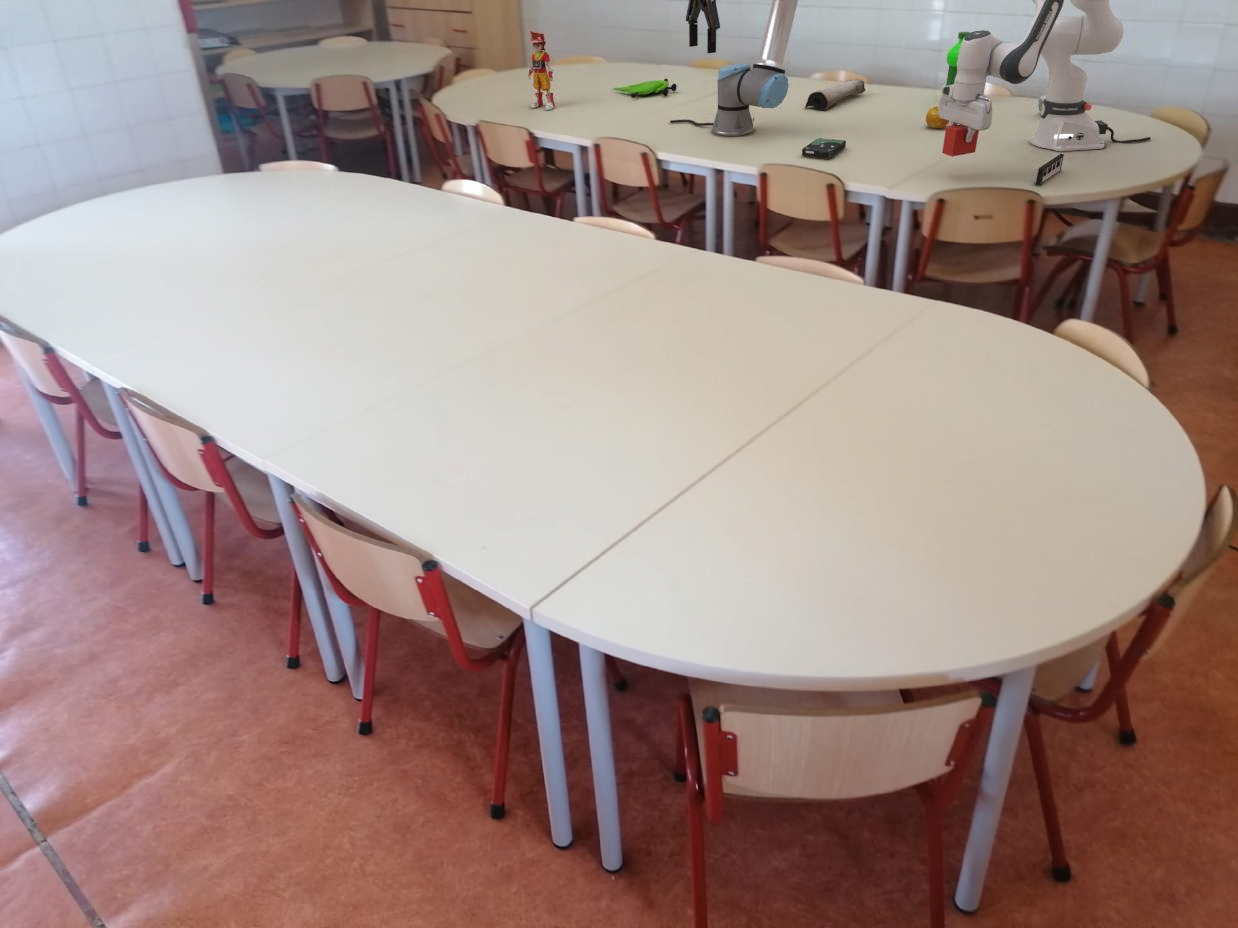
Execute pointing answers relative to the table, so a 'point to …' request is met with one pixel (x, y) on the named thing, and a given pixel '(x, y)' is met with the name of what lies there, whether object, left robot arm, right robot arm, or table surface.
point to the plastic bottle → (954, 59)
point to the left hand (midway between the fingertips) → (702, 49)
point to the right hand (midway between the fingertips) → (960, 139)
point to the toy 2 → (648, 88)
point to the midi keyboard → (1049, 169)
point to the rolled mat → (834, 94)
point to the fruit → (935, 118)
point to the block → (958, 141)
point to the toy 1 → (541, 71)
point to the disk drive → (823, 148)
